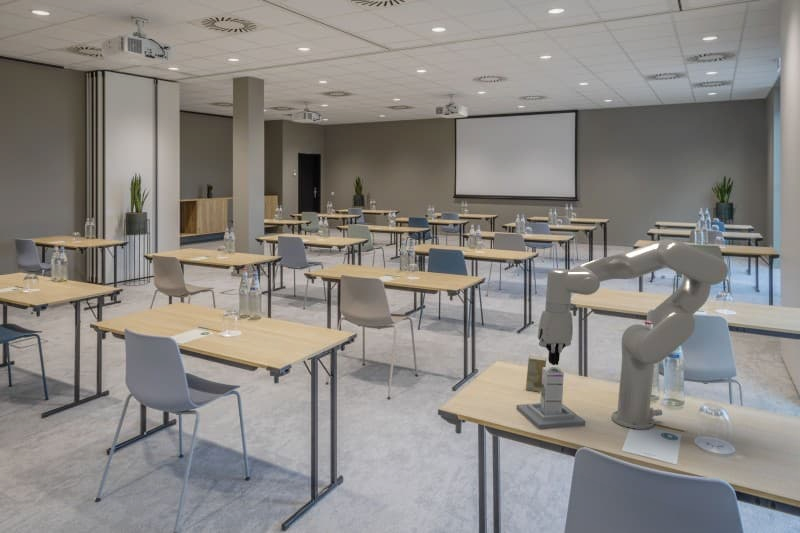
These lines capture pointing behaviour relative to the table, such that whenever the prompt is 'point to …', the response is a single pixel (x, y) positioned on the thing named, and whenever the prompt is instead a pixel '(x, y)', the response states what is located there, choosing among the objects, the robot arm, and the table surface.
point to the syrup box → (551, 391)
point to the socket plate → (550, 417)
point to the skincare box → (535, 372)
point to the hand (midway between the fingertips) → (553, 363)
